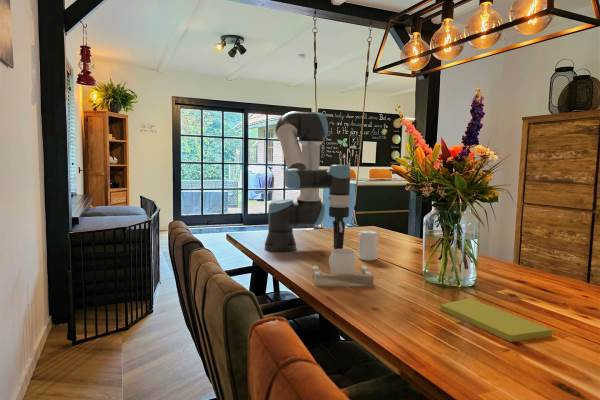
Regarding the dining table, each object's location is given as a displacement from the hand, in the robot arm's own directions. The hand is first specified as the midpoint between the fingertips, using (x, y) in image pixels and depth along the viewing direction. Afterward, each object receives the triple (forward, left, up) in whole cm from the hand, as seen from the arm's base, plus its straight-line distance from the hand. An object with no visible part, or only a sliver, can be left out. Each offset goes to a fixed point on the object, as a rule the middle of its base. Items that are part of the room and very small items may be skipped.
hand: (337, 267), depth 147 cm
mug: (+7, 0, -2) cm, 7 cm away
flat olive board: (+46, +35, -3) cm, 58 cm away
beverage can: (-21, +16, -2) cm, 26 cm away
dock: (+9, 0, -2) cm, 10 cm away
